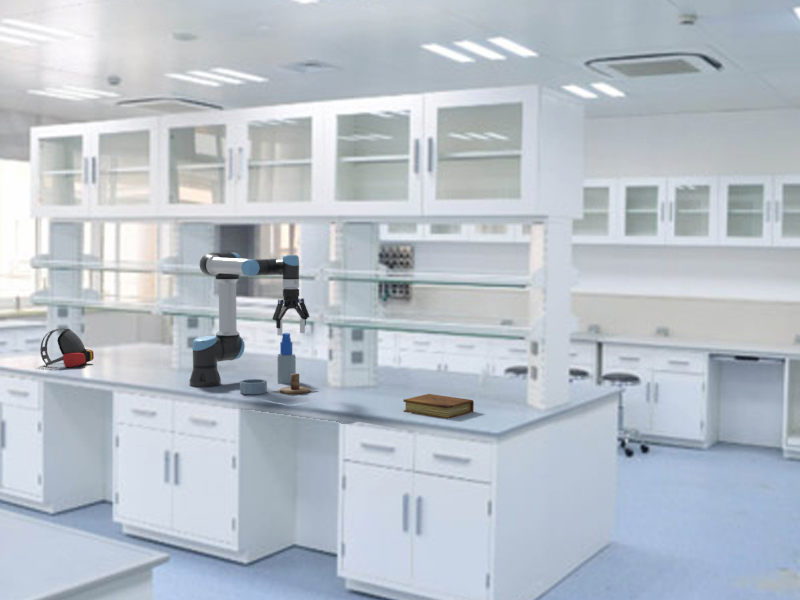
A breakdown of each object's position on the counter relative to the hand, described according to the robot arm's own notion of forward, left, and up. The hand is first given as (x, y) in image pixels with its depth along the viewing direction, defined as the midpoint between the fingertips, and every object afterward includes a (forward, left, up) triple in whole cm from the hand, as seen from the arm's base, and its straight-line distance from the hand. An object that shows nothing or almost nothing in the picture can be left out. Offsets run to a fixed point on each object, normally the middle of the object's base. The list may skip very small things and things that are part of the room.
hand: (291, 334), depth 422 cm
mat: (+1, +2, -28) cm, 28 cm away
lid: (+1, +2, -27) cm, 27 cm away
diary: (+77, +16, -29) cm, 83 cm away
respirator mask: (-157, -30, -28) cm, 163 cm away
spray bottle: (-23, +17, -28) cm, 40 cm away
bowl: (-11, -13, -28) cm, 33 cm away
